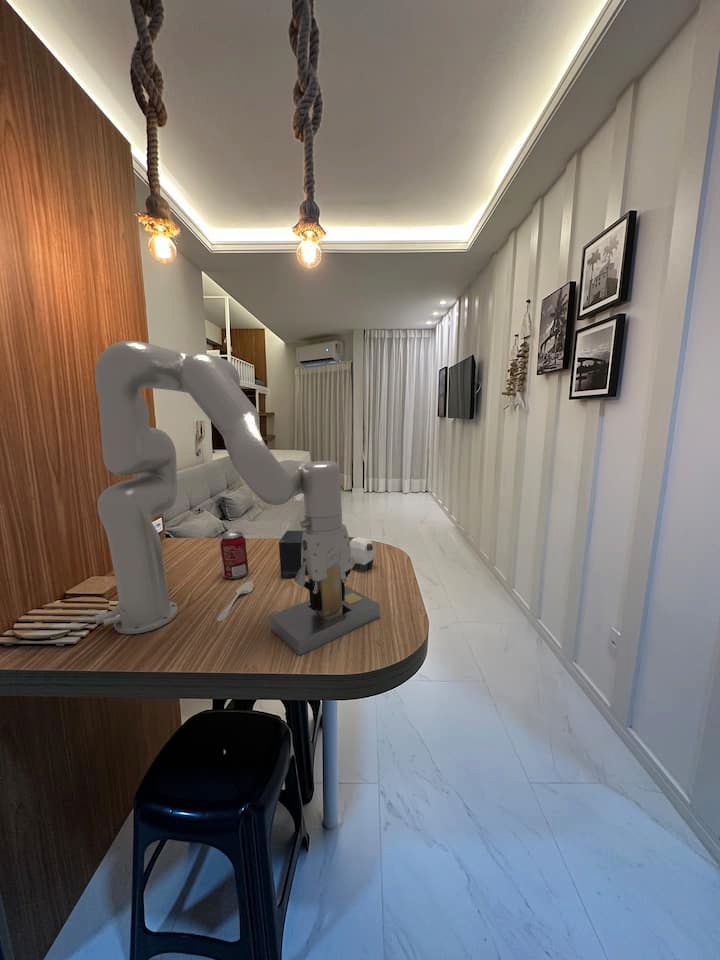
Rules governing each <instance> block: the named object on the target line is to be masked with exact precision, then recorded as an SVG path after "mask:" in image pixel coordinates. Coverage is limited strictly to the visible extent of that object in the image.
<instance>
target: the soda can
mask: <svg viewBox="0 0 720 960" xmlns="http://www.w3.org/2000/svg"><path fill="white" fill-rule="evenodd" d="M246 540H247V539H246V538H245V536H244V535H243V532H241V531H230V532H226V533H223V534H222V535H221V540H220V542H219V546H220V555H221V565H222V574H223V577H224V578H226V579H230V580H236V579H241V578H243V577H244V576H246V575H247V574H248V573H249V562H248V553H247V552H248V551H247V543H246Z"/></svg>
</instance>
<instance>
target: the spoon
mask: <svg viewBox="0 0 720 960" xmlns="http://www.w3.org/2000/svg"><path fill="white" fill-rule="evenodd" d="M254 586H255V585H254V583H253V582H252V581H251V580H249V581H246V582H244V583H242V584H241V585H240V586H239V587H238V588H237V589H236V591H235V596H234V597H233V598H232V599H231V601H229V603H228V605H226V607H225V608H224V609H223V610H222V611H221V613H220V614H219V615H218V616H217V618H216V621H217V622H221V621H222V620H224V619H226V617H227V616H228V614H229V613H230V611H231V610H232V607H233V606H234V605H233V604H234V603H235V602H236V600H237V599H238V598H239V596H240V595H245V594H249V593H251V592H252V591H253V590H254V588H255V587H254ZM244 590H245V591H246V590H247V591H246V592H243V591H244Z"/></svg>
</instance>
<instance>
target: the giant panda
mask: <svg viewBox="0 0 720 960" xmlns="http://www.w3.org/2000/svg"><path fill="white" fill-rule="evenodd" d="M349 542H350V549H351V557H352V558H353V559H354V560H355V561H356V563H355V564H359V568H358V572H363V573H366V572H367V571H368V569H371V568H372V569H373V567H374V560H375V546H374V544H373V542H372V541H371V540H370V539H368V538H366V537H363V536H362V537H359V536H358V537H354V536H353V537H351V536H349Z"/></svg>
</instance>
